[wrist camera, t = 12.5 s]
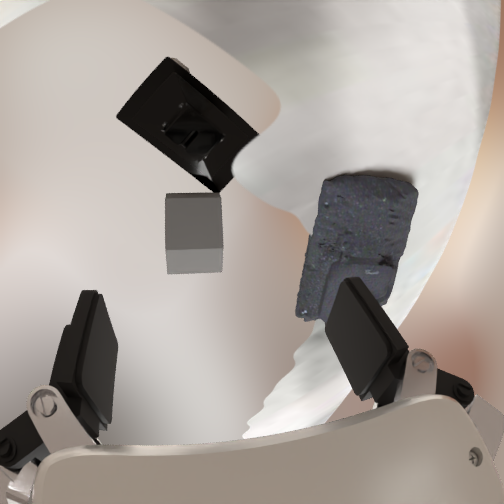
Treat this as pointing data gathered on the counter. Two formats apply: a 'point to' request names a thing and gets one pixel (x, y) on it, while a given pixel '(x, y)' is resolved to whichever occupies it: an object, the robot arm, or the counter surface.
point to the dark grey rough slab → (355, 240)
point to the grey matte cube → (193, 233)
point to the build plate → (188, 123)
